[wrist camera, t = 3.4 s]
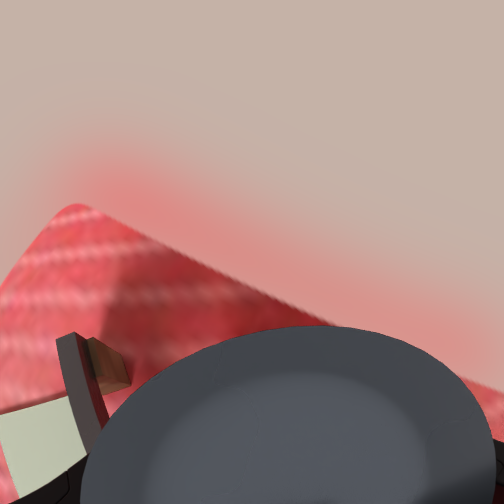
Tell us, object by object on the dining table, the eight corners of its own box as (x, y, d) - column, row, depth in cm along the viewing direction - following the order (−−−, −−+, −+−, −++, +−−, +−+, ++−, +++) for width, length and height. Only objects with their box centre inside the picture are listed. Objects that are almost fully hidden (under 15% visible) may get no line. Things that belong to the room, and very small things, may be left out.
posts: (223, 562, 9) (215, 589, 6) (191, 568, 8) (177, 595, 5) (121, 354, 15) (93, 336, 12) (94, 364, 15) (62, 349, 12)
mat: (146, 528, 10) (143, 530, 9) (40, 532, 8) (36, 533, 7) (87, 392, 14) (83, 390, 14) (-2, 417, 12) (-6, 416, 12)
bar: (207, 591, 6) (204, 602, 5) (184, 594, 5) (178, 605, 4) (86, 339, 12) (74, 331, 11) (68, 346, 12) (55, 339, 11)
